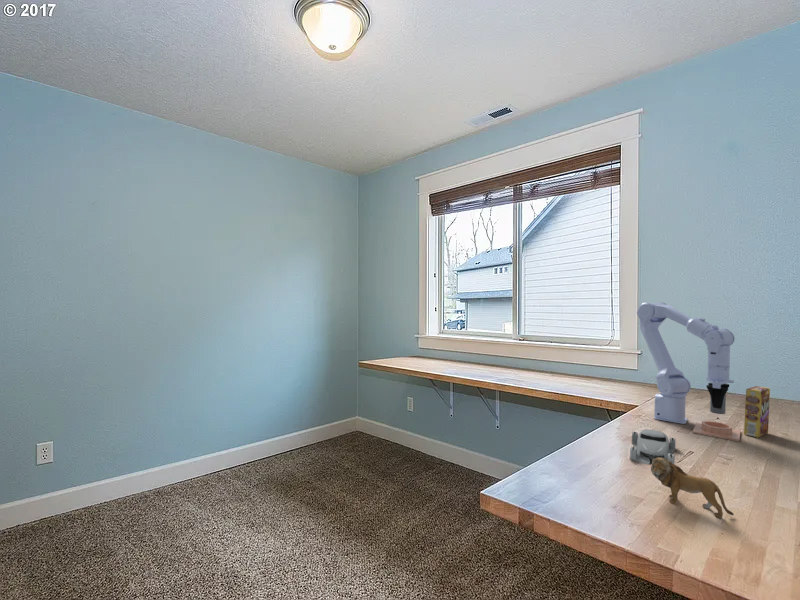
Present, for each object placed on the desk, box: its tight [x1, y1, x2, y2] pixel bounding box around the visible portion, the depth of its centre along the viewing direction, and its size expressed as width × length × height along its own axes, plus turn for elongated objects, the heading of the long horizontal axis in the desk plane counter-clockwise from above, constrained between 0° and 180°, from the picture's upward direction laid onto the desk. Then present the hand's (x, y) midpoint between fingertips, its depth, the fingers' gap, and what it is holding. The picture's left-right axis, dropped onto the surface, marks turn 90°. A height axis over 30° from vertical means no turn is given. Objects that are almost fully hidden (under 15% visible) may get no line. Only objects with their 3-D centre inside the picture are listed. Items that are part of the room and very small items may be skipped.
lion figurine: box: [650, 457, 735, 519], centre depth 89 cm, size 15×5×9 cm, turn 52°
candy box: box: [743, 385, 771, 439], centre depth 137 cm, size 9×4×15 cm, turn 123°
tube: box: [709, 393, 727, 415], centre depth 137 cm, size 4×4×7 cm
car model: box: [629, 429, 676, 466], centre depth 121 cm, size 11×24×5 cm, turn 147°
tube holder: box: [692, 420, 741, 442], centre depth 138 cm, size 12×12×3 cm
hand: (717, 406), depth 137 cm, fingers closed on tube, 4 cm apart
